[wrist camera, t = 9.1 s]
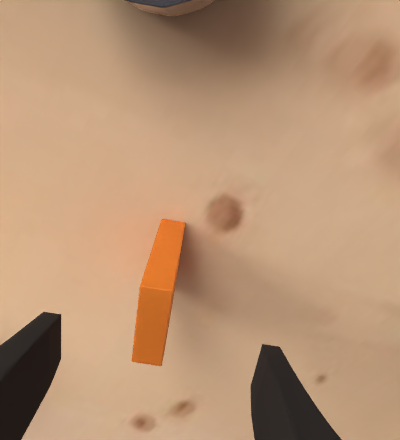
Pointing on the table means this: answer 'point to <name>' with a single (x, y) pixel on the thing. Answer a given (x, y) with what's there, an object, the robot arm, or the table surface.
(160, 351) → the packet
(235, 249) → the table surface
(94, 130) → the table surface
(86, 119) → the table surface
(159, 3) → the cup
